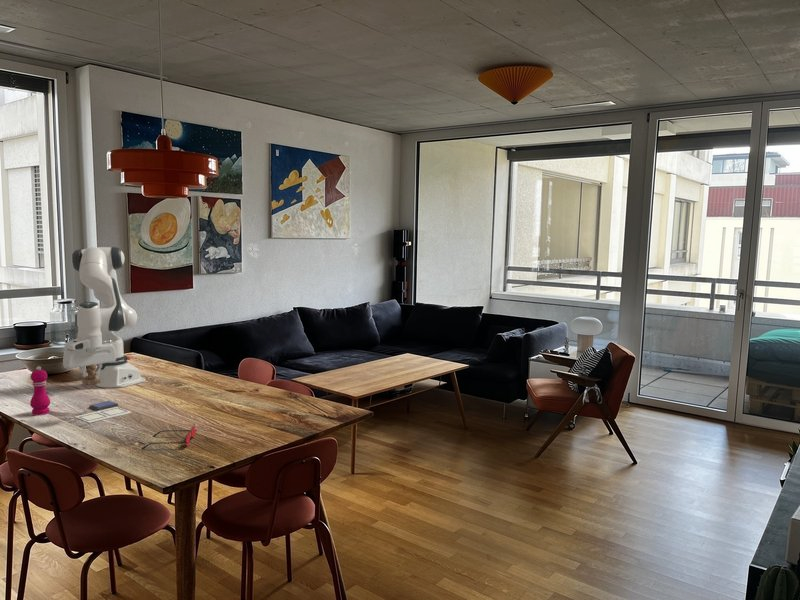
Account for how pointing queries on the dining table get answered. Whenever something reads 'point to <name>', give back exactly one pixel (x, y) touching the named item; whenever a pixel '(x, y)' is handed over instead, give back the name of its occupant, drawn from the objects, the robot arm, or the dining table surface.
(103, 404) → the ink pad
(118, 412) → the print card
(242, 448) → the dining table surface
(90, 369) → the stamp
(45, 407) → the pepper mill
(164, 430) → the glasses
